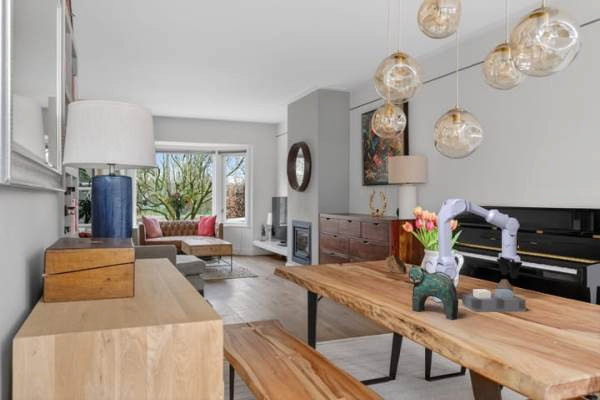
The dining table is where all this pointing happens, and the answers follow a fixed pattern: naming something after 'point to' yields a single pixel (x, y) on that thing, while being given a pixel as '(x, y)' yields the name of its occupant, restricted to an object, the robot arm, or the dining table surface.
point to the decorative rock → (395, 264)
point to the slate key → (503, 293)
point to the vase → (504, 285)
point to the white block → (481, 293)
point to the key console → (494, 303)
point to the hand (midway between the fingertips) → (509, 276)
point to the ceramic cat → (433, 290)
